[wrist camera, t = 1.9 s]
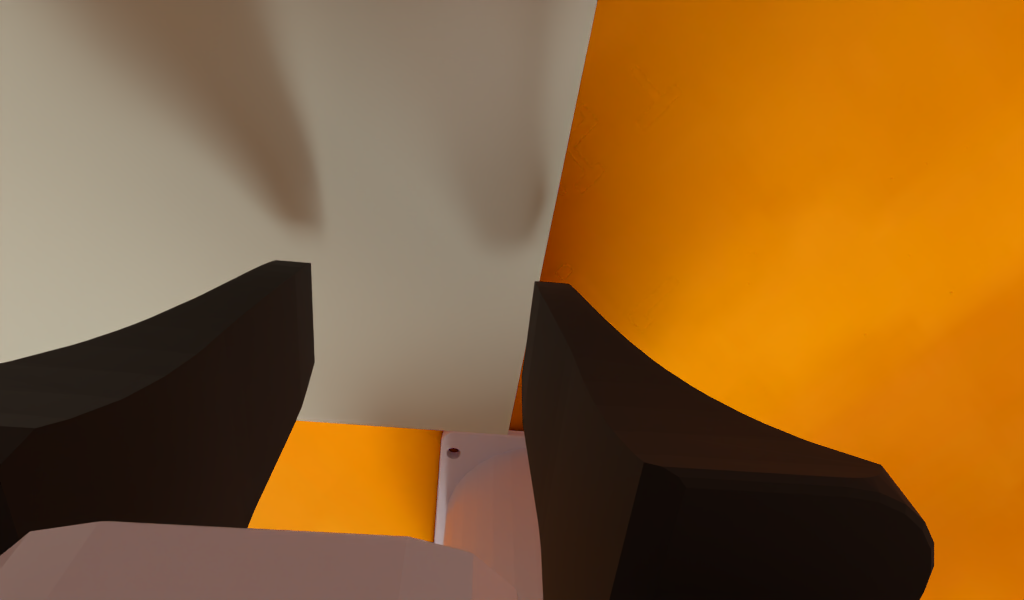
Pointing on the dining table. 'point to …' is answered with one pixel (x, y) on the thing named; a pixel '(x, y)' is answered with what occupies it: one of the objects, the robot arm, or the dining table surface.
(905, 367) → the dining table surface
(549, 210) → the box lid
